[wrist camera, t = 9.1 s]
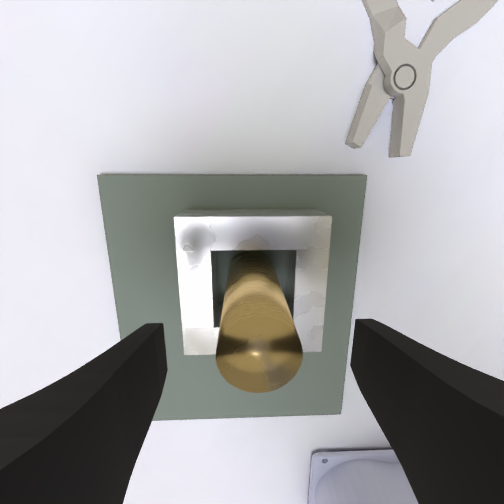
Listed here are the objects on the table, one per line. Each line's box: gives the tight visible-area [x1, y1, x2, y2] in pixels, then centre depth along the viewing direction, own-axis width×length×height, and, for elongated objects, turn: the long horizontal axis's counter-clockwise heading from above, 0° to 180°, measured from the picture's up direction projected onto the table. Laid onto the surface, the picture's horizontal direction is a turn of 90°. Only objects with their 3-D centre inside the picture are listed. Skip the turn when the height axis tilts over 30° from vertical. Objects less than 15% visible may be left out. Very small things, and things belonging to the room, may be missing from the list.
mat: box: [97, 175, 367, 421], centre depth 19 cm, size 16×18×1 cm
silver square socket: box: [174, 208, 332, 355], centre depth 17 cm, size 8×8×3 cm
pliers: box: [345, 0, 498, 157], centre depth 15 cm, size 10×2×15 cm
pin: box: [216, 250, 303, 393], centre depth 14 cm, size 3×3×9 cm
